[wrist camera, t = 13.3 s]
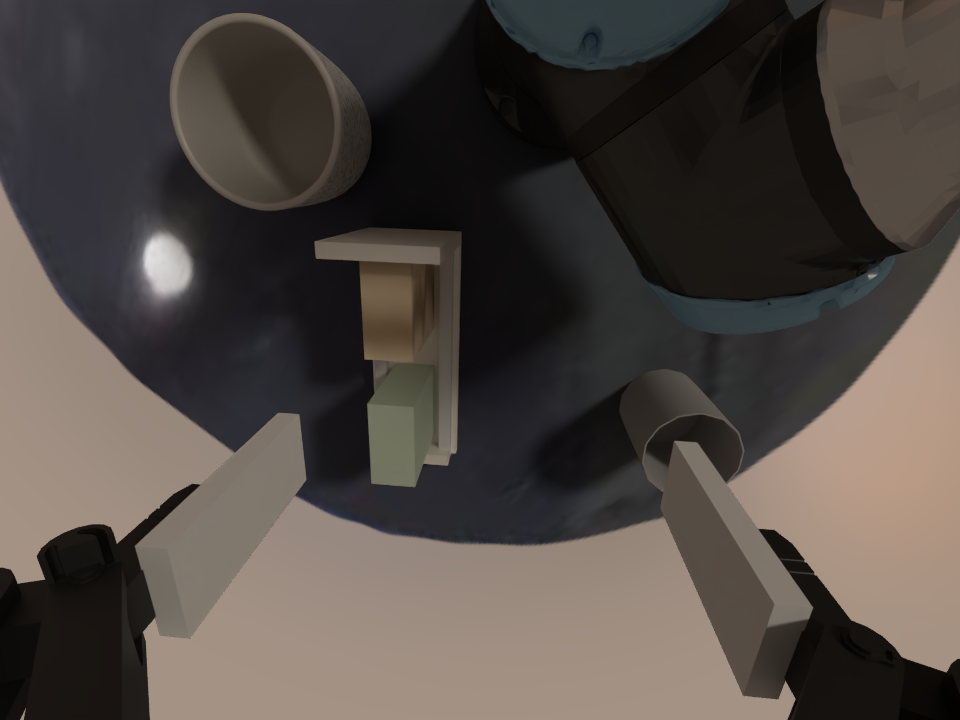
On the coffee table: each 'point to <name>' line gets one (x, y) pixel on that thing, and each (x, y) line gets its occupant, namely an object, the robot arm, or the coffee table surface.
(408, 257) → the track
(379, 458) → the green panel
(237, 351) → the coffee table surface
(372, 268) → the oak panel
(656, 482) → the cup
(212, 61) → the planter
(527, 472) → the coffee table surface
